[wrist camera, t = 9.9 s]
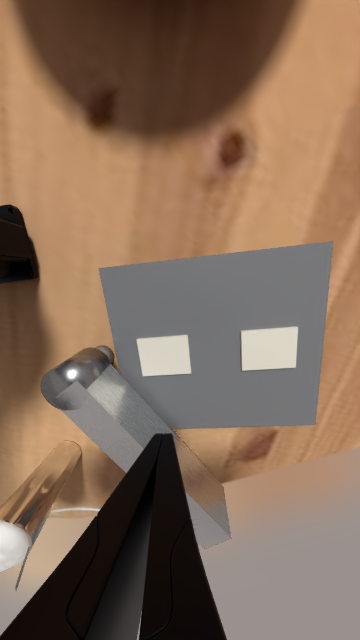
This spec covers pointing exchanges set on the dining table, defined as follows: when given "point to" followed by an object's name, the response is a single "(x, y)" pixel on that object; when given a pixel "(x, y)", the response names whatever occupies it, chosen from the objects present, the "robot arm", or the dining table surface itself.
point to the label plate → (223, 335)
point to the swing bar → (132, 432)
